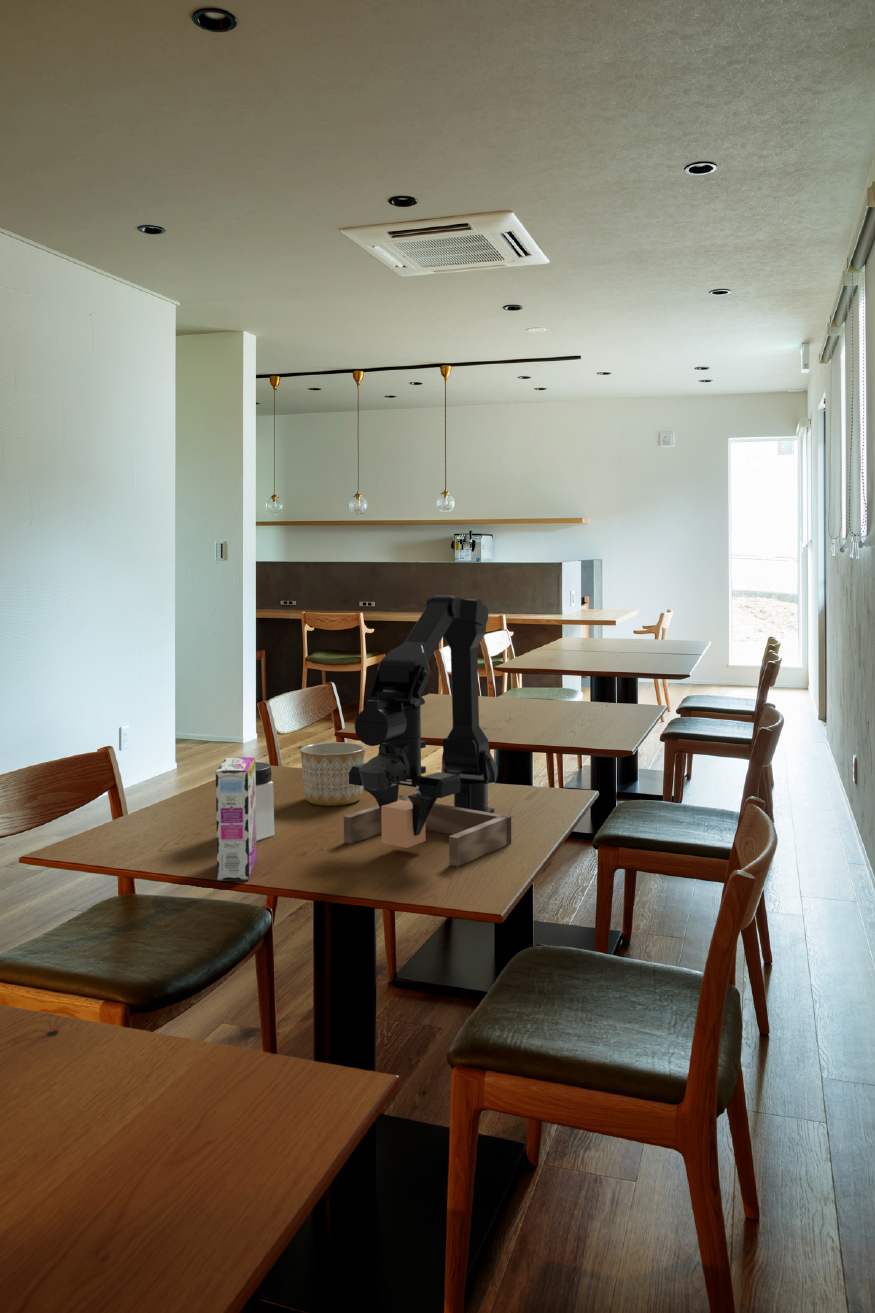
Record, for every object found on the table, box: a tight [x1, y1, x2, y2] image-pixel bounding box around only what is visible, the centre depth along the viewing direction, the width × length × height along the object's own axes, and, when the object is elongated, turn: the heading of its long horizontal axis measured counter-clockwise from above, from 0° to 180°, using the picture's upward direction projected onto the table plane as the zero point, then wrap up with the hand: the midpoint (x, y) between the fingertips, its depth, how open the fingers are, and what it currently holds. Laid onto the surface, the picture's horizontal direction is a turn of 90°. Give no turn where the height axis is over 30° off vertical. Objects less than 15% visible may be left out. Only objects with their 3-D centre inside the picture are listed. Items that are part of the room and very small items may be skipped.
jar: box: [255, 761, 275, 842], centre depth 165 cm, size 9×8×12 cm
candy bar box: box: [215, 756, 258, 882], centre depth 146 cm, size 11×5×16 cm, turn 5°
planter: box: [299, 741, 366, 807], centre depth 189 cm, size 13×13×10 cm
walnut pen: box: [343, 797, 512, 868], centre depth 160 cm, size 16×23×4 cm
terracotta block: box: [381, 800, 427, 849], centre depth 154 cm, size 5×5×6 cm
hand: (403, 832), depth 154 cm, fingers closed on terracotta block, 5 cm apart
